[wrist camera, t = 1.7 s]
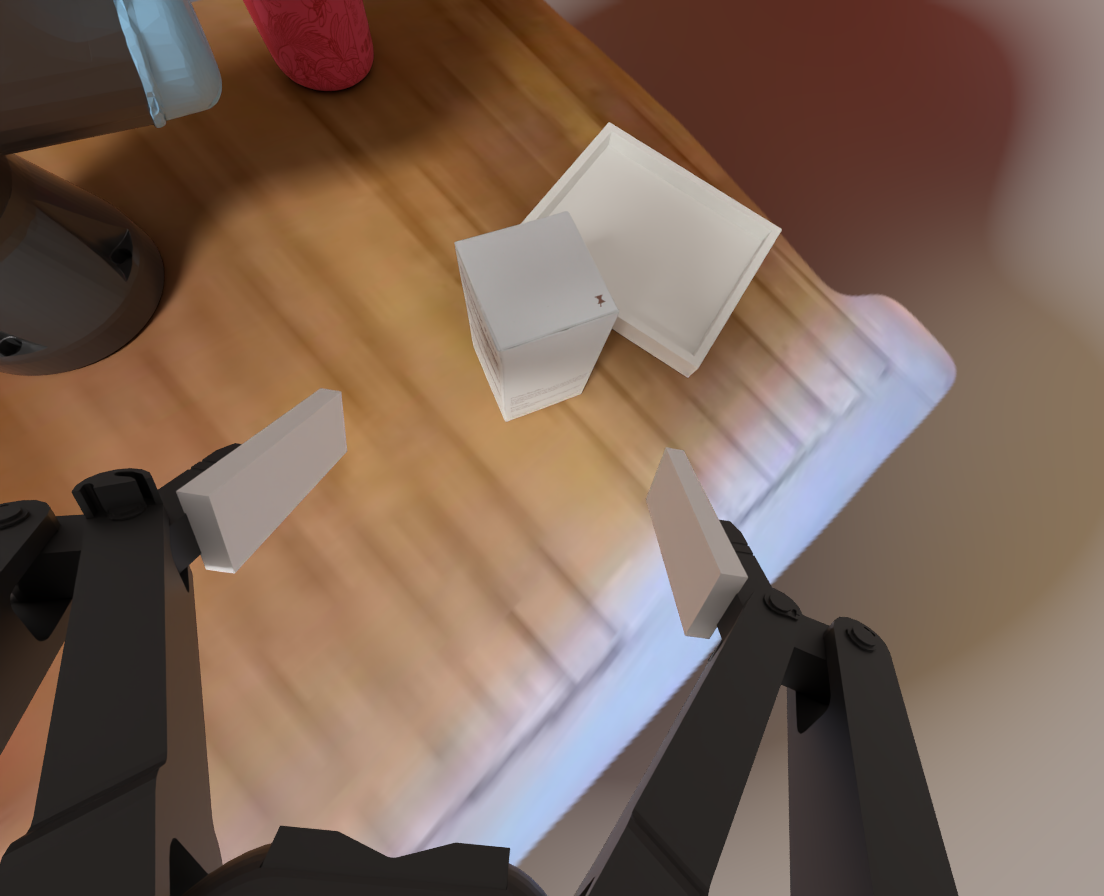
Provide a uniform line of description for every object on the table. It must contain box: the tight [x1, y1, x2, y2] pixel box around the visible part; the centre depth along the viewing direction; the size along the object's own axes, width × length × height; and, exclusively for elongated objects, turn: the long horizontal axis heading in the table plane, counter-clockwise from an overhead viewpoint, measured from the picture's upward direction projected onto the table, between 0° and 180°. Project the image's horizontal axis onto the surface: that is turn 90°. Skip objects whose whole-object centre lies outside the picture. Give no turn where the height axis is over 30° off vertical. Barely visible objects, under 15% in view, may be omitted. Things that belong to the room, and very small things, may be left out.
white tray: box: [521, 122, 782, 378], centre depth 37 cm, size 20×18×2 cm
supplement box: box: [455, 211, 619, 422], centre depth 28 cm, size 7×7×13 cm
